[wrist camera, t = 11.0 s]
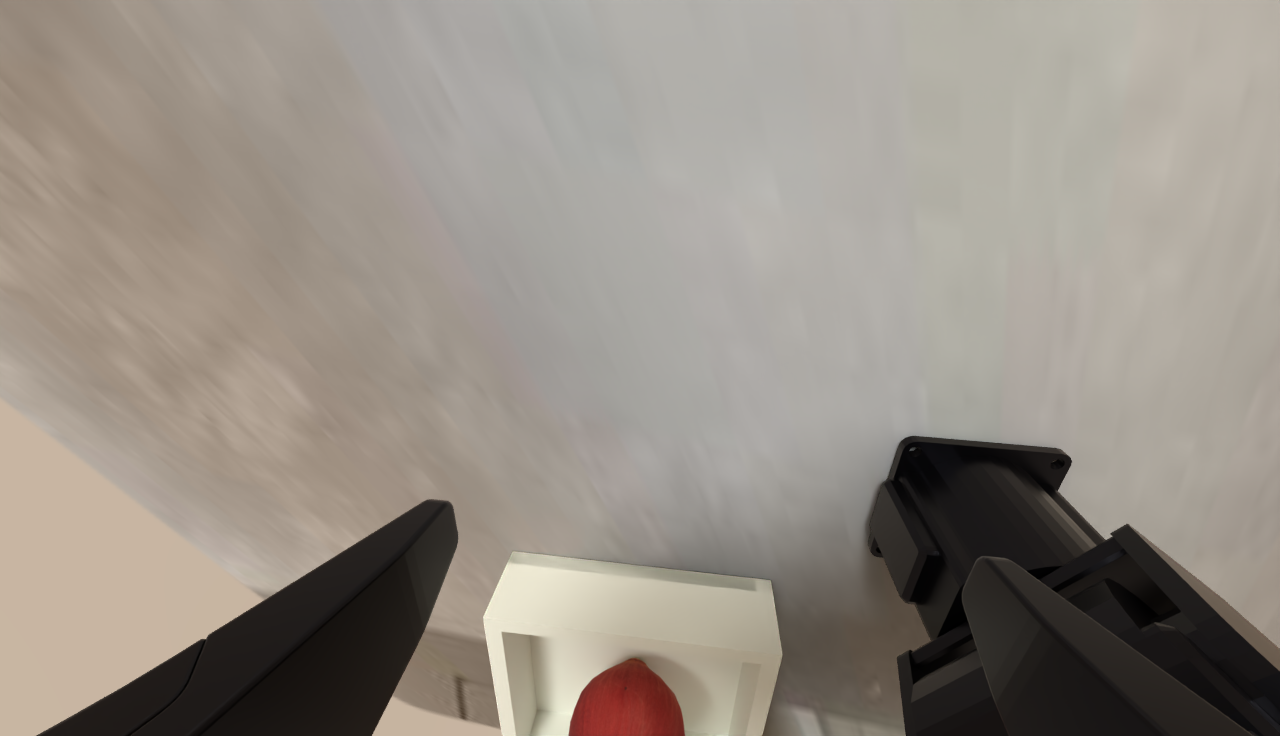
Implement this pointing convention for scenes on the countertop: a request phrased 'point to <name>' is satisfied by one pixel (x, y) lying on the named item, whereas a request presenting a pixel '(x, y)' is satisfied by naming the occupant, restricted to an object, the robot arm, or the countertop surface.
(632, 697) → the onion
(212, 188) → the countertop surface
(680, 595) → the bin
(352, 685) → the robot arm
